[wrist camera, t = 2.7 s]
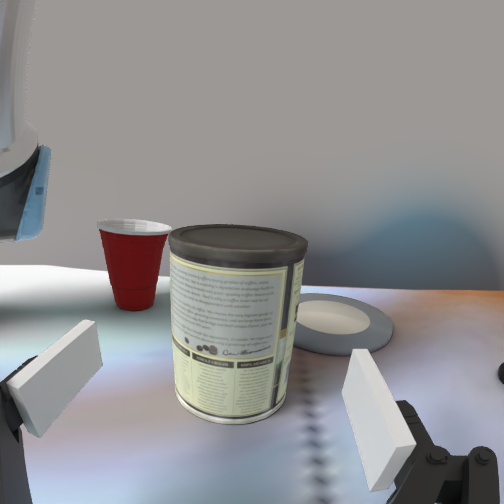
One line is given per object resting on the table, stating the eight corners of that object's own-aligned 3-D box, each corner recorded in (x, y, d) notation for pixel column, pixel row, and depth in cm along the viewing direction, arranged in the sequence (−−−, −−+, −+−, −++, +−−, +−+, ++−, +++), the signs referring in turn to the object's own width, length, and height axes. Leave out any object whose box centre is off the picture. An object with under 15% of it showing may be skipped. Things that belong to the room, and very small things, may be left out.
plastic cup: (175, 318, 39) (175, 228, 36) (96, 319, 35) (89, 228, 32) (169, 289, 49) (169, 217, 46) (105, 290, 45) (102, 217, 42)
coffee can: (171, 359, 29) (169, 222, 26) (267, 354, 32) (280, 225, 29) (177, 430, 19) (167, 248, 16) (303, 416, 22) (334, 250, 19)
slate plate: (264, 352, 32) (265, 343, 32) (267, 295, 50) (267, 289, 50) (410, 355, 32) (413, 347, 31) (370, 301, 49) (371, 296, 49)
